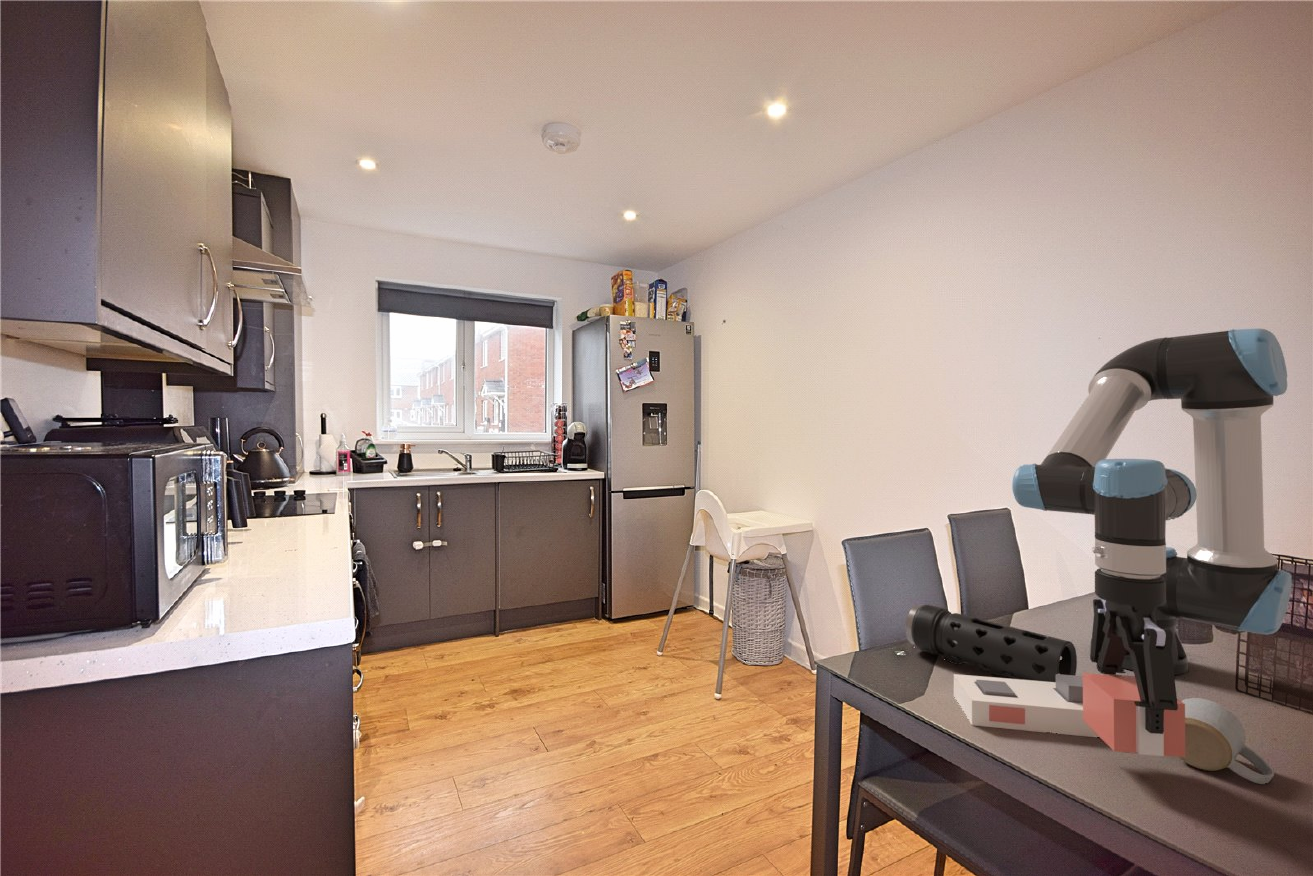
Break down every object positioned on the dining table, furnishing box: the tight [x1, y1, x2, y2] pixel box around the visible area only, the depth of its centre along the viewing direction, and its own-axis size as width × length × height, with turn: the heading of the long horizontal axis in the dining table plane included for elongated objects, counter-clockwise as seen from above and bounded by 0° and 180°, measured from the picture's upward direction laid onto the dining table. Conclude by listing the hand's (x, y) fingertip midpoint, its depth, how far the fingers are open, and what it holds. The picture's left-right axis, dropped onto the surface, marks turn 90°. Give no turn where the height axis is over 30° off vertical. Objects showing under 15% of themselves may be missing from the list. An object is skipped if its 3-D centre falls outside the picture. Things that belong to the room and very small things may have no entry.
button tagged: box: [976, 680, 1015, 697], centre depth 94 cm, size 4×4×4 cm
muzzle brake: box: [904, 604, 1078, 682], centre depth 111 cm, size 10×28×10 cm, turn 36°
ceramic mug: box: [1178, 697, 1275, 785], centre depth 79 cm, size 11×8×8 cm
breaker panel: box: [953, 673, 1099, 738], centre depth 93 cm, size 22×10×4 cm, turn 77°
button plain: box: [1056, 674, 1083, 703], centre depth 92 cm, size 4×4×4 cm
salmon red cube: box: [1082, 672, 1185, 758], centre depth 78 cm, size 8×8×7 cm
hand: (1129, 735), depth 78 cm, fingers closed on salmon red cube, 8 cm apart
